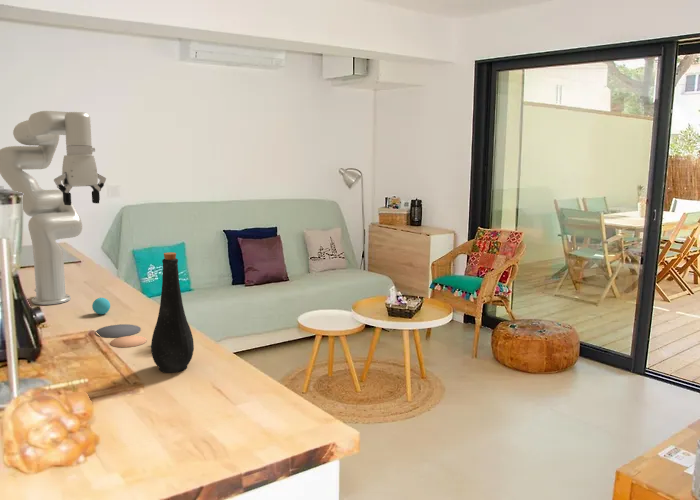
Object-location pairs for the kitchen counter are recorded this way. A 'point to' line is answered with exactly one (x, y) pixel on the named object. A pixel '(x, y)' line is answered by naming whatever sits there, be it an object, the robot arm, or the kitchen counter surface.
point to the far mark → (128, 341)
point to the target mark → (118, 330)
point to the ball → (101, 306)
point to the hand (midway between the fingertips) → (82, 204)
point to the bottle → (171, 323)
